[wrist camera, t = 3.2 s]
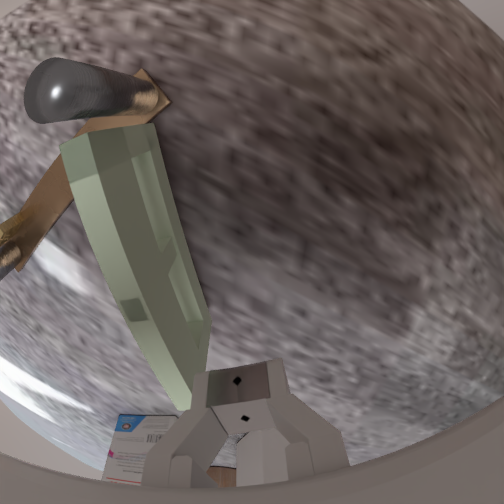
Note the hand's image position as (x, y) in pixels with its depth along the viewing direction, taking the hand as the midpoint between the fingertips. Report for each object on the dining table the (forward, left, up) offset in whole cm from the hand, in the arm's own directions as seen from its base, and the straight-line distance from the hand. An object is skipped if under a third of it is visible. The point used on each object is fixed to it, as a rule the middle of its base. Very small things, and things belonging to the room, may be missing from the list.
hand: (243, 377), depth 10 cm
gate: (+3, -3, -12) cm, 12 cm away
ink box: (+25, +14, -13) cm, 32 cm away
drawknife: (+9, -12, -13) cm, 20 cm away
